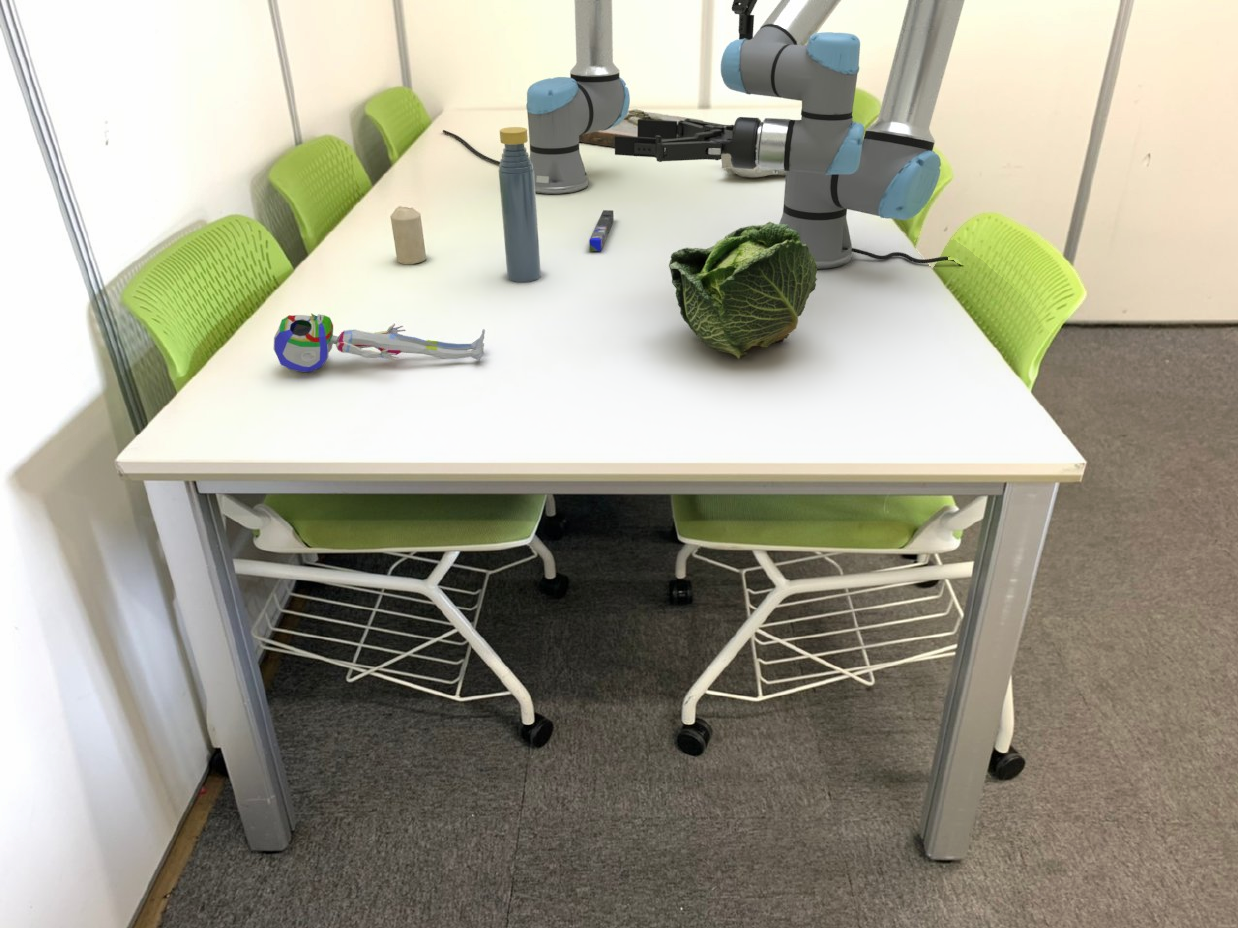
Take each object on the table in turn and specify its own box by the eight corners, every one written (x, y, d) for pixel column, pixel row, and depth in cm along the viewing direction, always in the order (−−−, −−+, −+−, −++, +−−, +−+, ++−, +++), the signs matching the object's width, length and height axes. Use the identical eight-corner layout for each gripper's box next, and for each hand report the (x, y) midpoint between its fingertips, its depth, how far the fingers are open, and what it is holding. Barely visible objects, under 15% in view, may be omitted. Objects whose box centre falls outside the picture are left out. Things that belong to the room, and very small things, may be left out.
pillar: (613, 210, 190) (600, 241, 173) (613, 220, 191) (600, 251, 174) (603, 210, 190) (589, 240, 173) (603, 220, 191) (589, 251, 174)
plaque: (647, 125, 237) (559, 112, 252) (647, 153, 241) (560, 139, 256) (706, 107, 258) (622, 97, 273) (705, 133, 262) (622, 121, 277)
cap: (526, 138, 153) (525, 126, 152) (528, 144, 150) (528, 132, 149) (499, 139, 153) (498, 127, 152) (501, 145, 149) (500, 133, 148)
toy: (484, 341, 128) (264, 324, 124) (481, 394, 133) (269, 379, 128) (485, 314, 137) (280, 296, 132) (482, 364, 141) (284, 349, 136)
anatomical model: (708, 130, 224) (809, 129, 220) (707, 168, 229) (806, 167, 225) (703, 145, 212) (811, 144, 208) (703, 184, 216) (808, 183, 213)
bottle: (539, 269, 167) (529, 127, 153) (542, 281, 162) (533, 135, 148) (506, 271, 166) (494, 129, 153) (508, 283, 161) (496, 137, 148)
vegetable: (704, 370, 145) (643, 264, 138) (800, 304, 147) (745, 195, 139) (754, 397, 127) (686, 277, 119) (863, 321, 128) (804, 197, 121)
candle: (431, 256, 173) (424, 204, 168) (417, 265, 169) (409, 213, 164) (406, 253, 175) (399, 202, 170) (391, 262, 171) (383, 210, 165)
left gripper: (749, -76, 155) (742, 57, 167) (829, -79, 170) (818, 43, 182) (716, -76, 160) (711, 54, 171) (796, -80, 175) (787, 40, 186)
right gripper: (744, 188, 130) (605, 179, 135) (768, 151, 151) (646, 144, 156) (748, 135, 126) (604, 126, 131) (772, 104, 147) (646, 98, 152)
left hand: (766, 48), depth 176 cm, fingers open, 13 cm apart
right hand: (626, 136), depth 143 cm, fingers open, 13 cm apart
